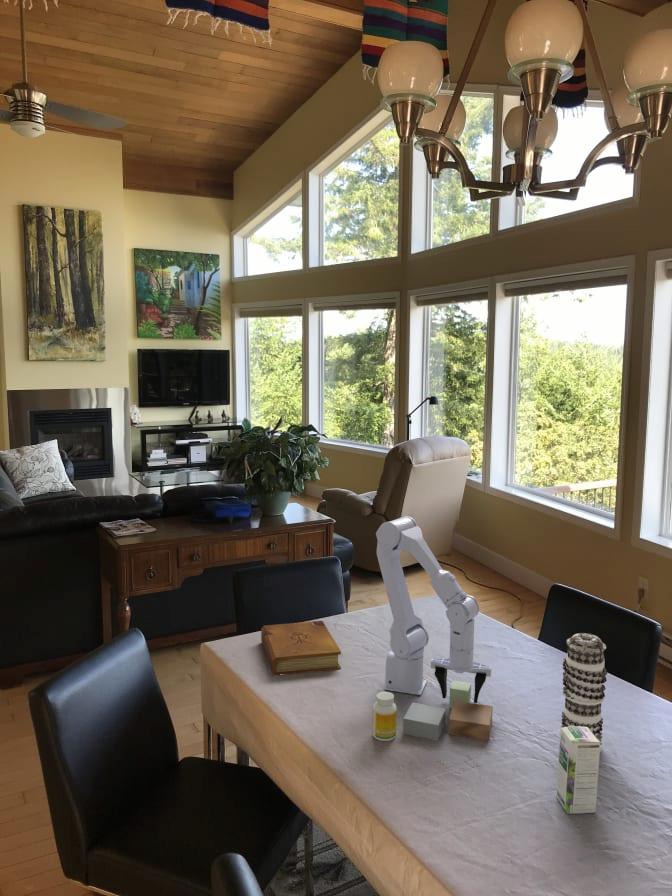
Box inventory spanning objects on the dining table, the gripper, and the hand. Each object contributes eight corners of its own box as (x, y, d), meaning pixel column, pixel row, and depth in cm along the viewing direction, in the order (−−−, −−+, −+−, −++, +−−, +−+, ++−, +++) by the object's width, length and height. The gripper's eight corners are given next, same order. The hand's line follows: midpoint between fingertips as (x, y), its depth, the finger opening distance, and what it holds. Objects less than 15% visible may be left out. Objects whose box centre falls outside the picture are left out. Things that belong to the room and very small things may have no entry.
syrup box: (555, 796, 137) (558, 726, 135) (584, 794, 138) (588, 725, 136) (567, 815, 132) (570, 742, 130) (597, 813, 132) (601, 741, 130)
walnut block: (448, 735, 160) (448, 719, 159) (453, 716, 168) (454, 700, 168) (488, 742, 157) (489, 725, 157) (492, 722, 166) (492, 706, 165)
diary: (261, 644, 210) (261, 625, 210) (322, 638, 215) (322, 620, 214) (273, 677, 188) (273, 657, 188) (340, 670, 193) (340, 650, 192)
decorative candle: (550, 743, 156) (555, 635, 153) (574, 730, 161) (580, 626, 158) (586, 762, 149) (592, 649, 145) (611, 748, 154) (617, 639, 151)
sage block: (449, 707, 172) (449, 688, 171) (452, 699, 176) (452, 680, 175) (467, 710, 170) (468, 691, 170) (470, 702, 175) (471, 683, 174)
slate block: (403, 734, 160) (403, 718, 159) (412, 718, 167) (412, 702, 167) (437, 742, 157) (438, 725, 156) (445, 724, 164) (445, 708, 164)
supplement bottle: (368, 732, 160) (368, 692, 159) (388, 727, 162) (389, 688, 161) (379, 744, 155) (380, 703, 154) (400, 738, 158) (401, 698, 156)
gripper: (429, 648, 170) (427, 701, 172) (490, 657, 165) (488, 711, 167) (434, 637, 176) (433, 688, 178) (493, 645, 172) (491, 697, 174)
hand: (460, 699), depth 173 cm, fingers open, 7 cm apart
